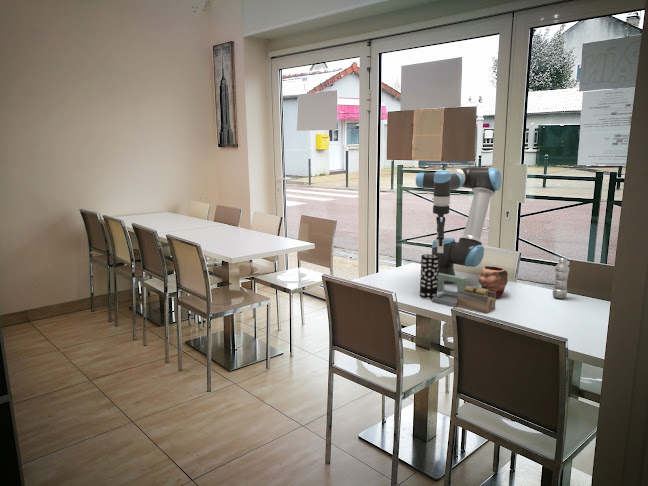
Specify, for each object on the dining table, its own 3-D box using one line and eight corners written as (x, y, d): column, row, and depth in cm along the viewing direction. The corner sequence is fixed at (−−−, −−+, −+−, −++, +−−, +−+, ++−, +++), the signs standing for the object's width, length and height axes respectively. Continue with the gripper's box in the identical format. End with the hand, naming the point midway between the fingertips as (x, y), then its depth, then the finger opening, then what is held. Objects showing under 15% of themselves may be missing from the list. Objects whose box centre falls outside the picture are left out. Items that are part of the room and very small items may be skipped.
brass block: (468, 293, 238) (468, 285, 237) (476, 295, 236) (476, 287, 235) (464, 295, 235) (464, 287, 234) (472, 297, 233) (473, 289, 232)
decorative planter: (493, 288, 264) (495, 262, 262) (515, 294, 255) (517, 267, 253) (470, 296, 252) (472, 268, 249) (492, 302, 243) (495, 273, 240)
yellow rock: (479, 296, 235) (480, 287, 234) (487, 298, 232) (488, 289, 231) (475, 298, 232) (476, 289, 231) (484, 300, 229) (484, 291, 228)
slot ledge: (466, 301, 243) (467, 286, 241) (494, 308, 234) (496, 292, 232) (456, 306, 235) (457, 291, 234) (486, 313, 226) (487, 297, 225)
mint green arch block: (439, 288, 265) (440, 272, 263) (466, 294, 255) (467, 277, 253) (433, 290, 260) (434, 274, 259) (461, 296, 251) (462, 279, 249)
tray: (444, 296, 251) (444, 292, 251) (467, 301, 243) (467, 297, 243) (432, 301, 242) (432, 297, 242) (455, 307, 235) (455, 303, 234)
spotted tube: (437, 299, 246) (439, 258, 243) (419, 298, 248) (421, 257, 244) (436, 294, 254) (438, 254, 251) (419, 293, 256) (421, 253, 252)
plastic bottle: (566, 297, 251) (570, 257, 247) (566, 300, 245) (570, 260, 241) (552, 295, 254) (556, 255, 250) (551, 299, 248) (555, 258, 244)
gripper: (432, 201, 252) (431, 243, 256) (433, 209, 228) (432, 255, 232) (448, 201, 250) (446, 243, 255) (451, 209, 226) (449, 256, 231)
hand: (439, 249), depth 244 cm, fingers open, 13 cm apart
